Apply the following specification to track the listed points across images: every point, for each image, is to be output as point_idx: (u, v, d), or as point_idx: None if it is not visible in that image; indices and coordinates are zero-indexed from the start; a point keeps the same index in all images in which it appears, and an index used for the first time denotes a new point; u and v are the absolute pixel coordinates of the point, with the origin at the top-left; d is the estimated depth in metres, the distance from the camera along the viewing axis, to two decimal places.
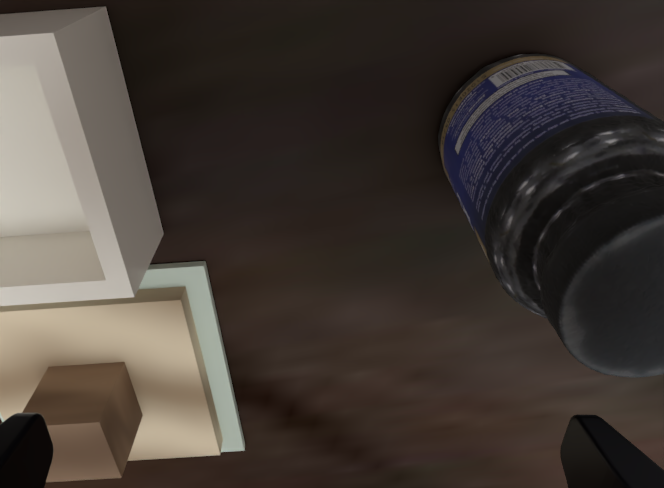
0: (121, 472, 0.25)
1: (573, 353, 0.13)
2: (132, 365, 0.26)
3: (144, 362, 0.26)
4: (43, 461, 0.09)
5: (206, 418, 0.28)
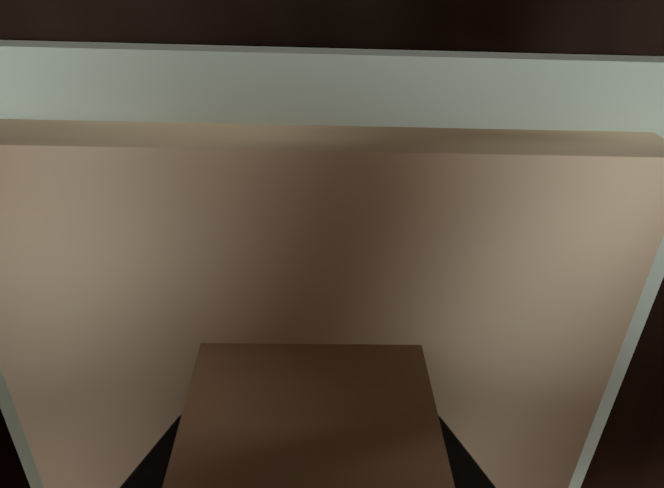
0: None
1: None
2: (213, 327, 0.09)
3: (203, 297, 0.08)
4: None
5: (484, 168, 0.08)
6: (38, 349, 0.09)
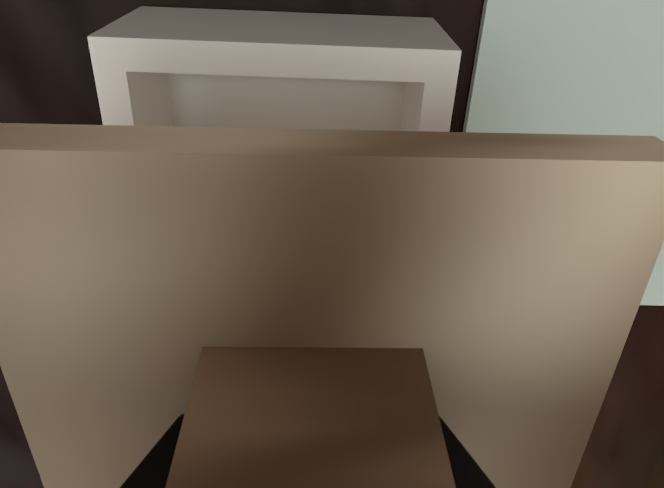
0: None
1: None
2: (215, 330, 0.09)
3: (204, 301, 0.08)
4: None
5: (486, 172, 0.08)
6: (40, 353, 0.09)
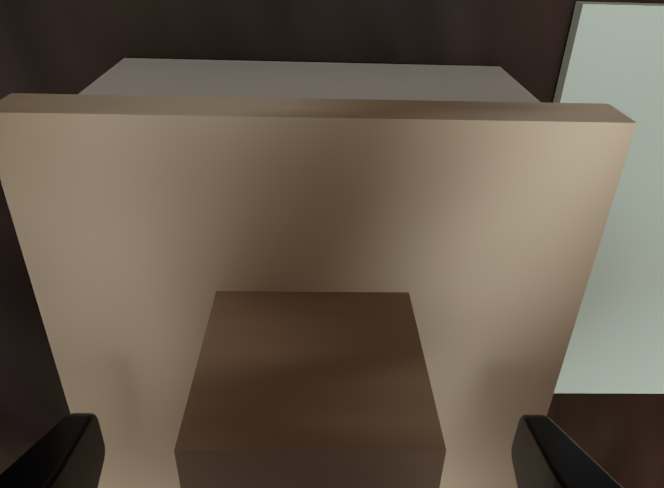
0: (431, 441, 0.07)
1: None
2: (227, 276, 0.10)
3: (218, 249, 0.10)
4: (97, 461, 0.09)
5: (459, 132, 0.09)
6: (74, 297, 0.10)
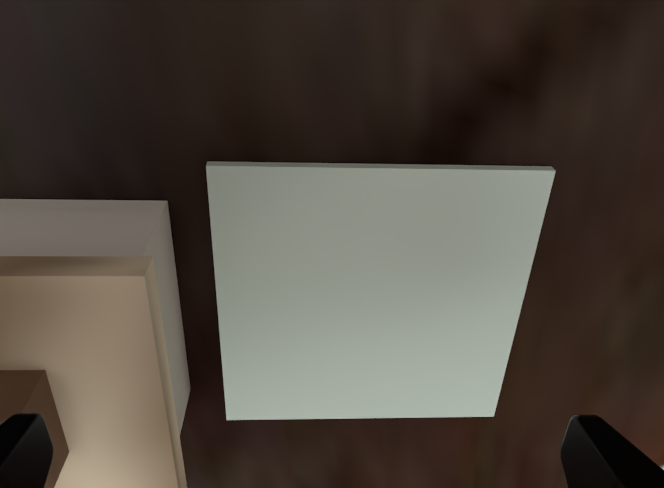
0: None
1: None
2: None
3: None
4: (43, 461, 0.09)
5: (39, 282, 0.15)
6: None
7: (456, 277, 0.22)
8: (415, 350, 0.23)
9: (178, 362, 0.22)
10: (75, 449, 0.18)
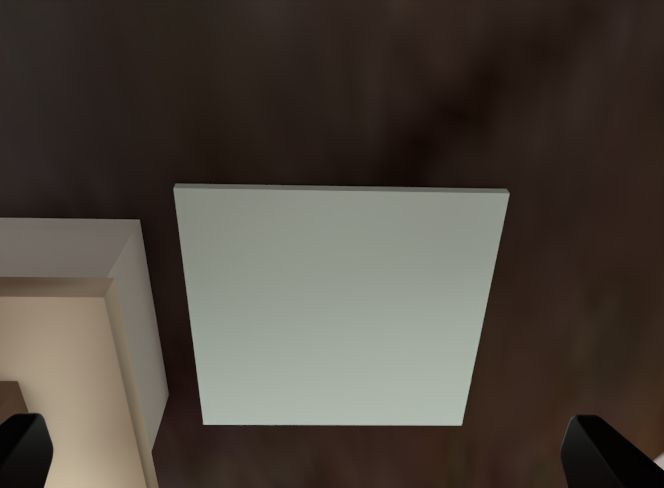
0: None
1: None
2: None
3: None
4: (43, 461, 0.09)
5: (7, 302, 0.16)
6: None
7: (418, 293, 0.23)
8: (382, 361, 0.24)
9: (153, 370, 0.23)
10: None
